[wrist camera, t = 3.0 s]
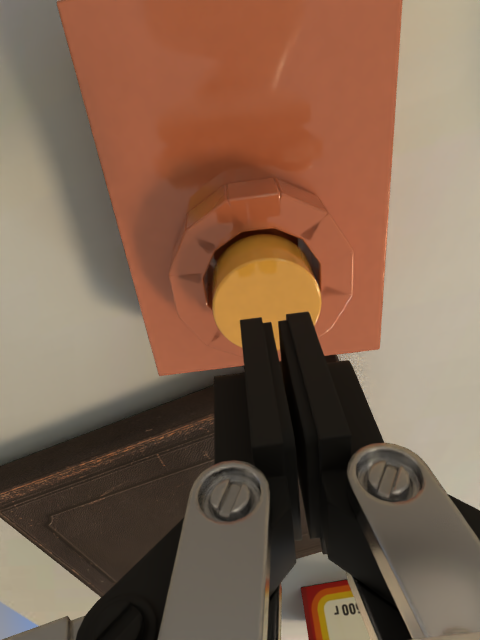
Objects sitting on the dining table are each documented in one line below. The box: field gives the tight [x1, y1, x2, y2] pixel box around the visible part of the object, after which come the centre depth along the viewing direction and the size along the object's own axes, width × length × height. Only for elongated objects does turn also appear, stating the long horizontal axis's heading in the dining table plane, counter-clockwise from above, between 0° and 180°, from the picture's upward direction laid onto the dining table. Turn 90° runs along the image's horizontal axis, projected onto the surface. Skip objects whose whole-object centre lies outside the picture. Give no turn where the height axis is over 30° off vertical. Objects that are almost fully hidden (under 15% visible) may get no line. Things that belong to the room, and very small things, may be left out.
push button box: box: [57, 0, 402, 376], centre depth 18 cm, size 14×10×6 cm
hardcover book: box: [0, 355, 339, 597], centre depth 30 cm, size 16×23×2 cm
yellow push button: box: [212, 234, 322, 350], centre depth 16 cm, size 4×4×2 cm
